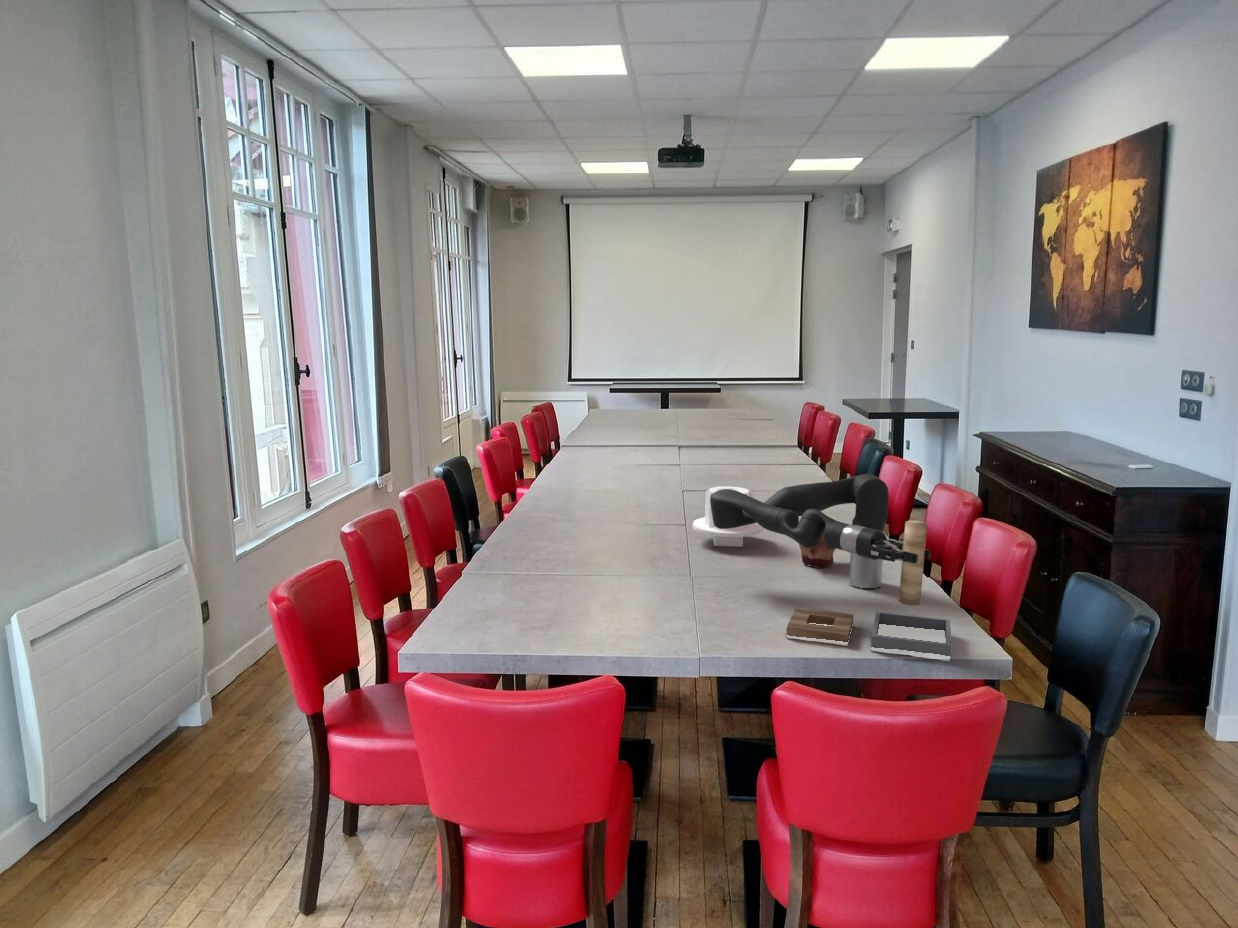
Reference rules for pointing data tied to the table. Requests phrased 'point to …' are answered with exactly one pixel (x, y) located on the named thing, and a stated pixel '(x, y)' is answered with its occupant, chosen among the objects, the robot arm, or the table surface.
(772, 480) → the table surface
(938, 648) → the slate grey tray
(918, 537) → the beech dowel
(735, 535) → the lamp base
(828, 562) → the decorative planter
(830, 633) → the walnut socket block
